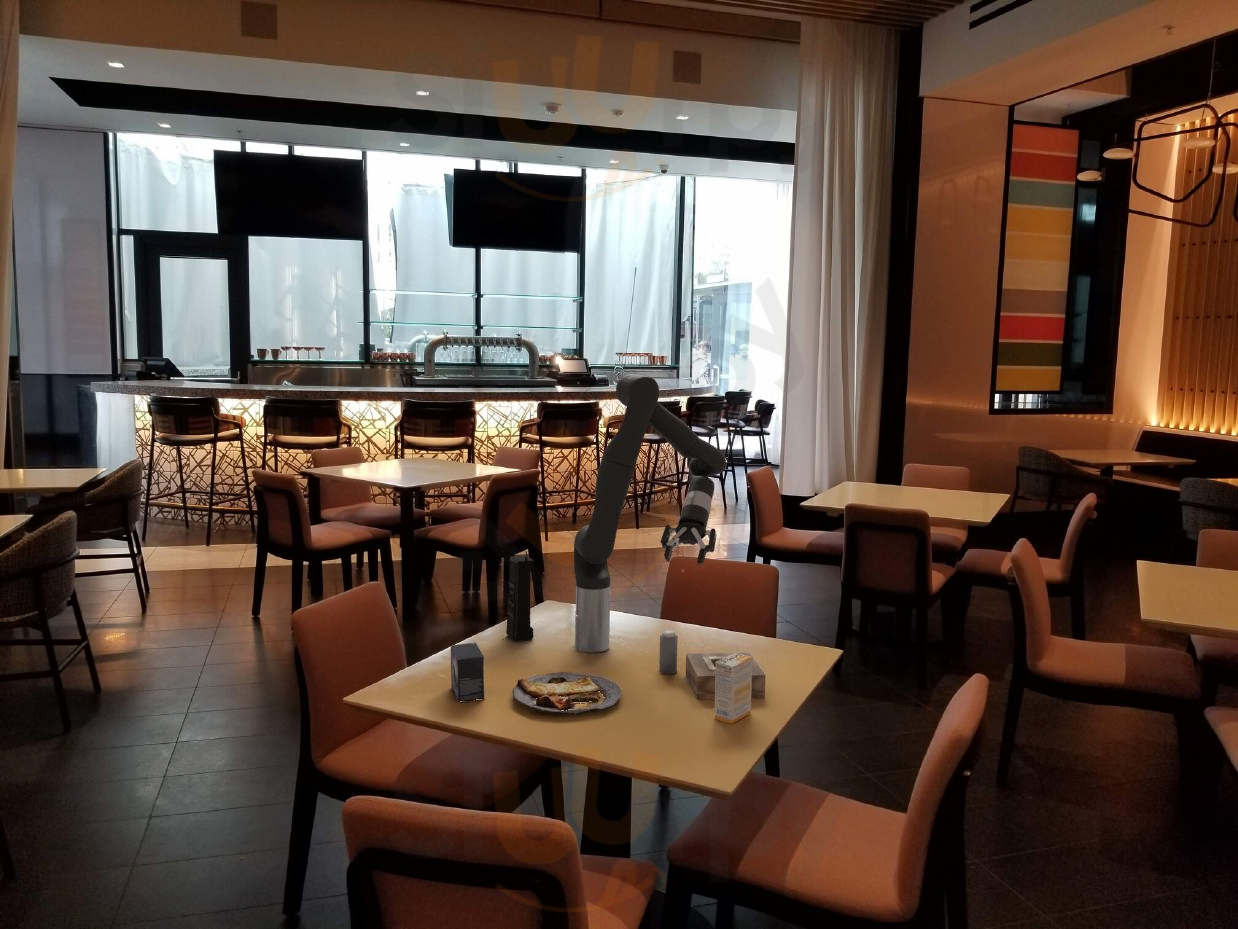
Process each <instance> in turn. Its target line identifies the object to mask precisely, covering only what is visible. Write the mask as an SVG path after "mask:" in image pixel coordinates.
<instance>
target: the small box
mask: <svg viewBox="0 0 1238 929" xmlns="http://www.w3.org/2000/svg"><path fill="white" fill-rule="evenodd" d="M484 660H485V656H484V655H483V653H482V651H481V649H480V647H479V646H478V644H477V642H469V643H461V644H451V645H450V676H451V678H450V679H451V680H450V681H451V689H452V691H453V694H454V696H455V698H456V700H457V703H458V702H460V701H470V702H475V701H474V700H476V699H484V700H485V676H484V675H485V674H484V671H485V670H484V669H485V668H484V665H485V664H484V662H485V661H484Z"/></svg>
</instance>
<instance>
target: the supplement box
mask: <svg viewBox="0 0 1238 929" xmlns="http://www.w3.org/2000/svg"><path fill="white" fill-rule="evenodd" d="M733 653H734V654H732V655H729V656H727V657H725V658H723V659H721V660H719V661H717V662H715V663H716V665H715V699H714V717H713V718H714V719H715V720H718V721H720V722H724V723H727V724H731V725H733V724H735V723H736V722H738V721H739V720H741V719H743V718H745V717H747V716H748V715H750V714H751V713H752V698H751V687H752V657H753V656H752V657H750V656H746V655H742V654H739V653H740V652H733Z"/></svg>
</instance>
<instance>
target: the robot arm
mask: <svg viewBox="0 0 1238 929" xmlns="http://www.w3.org/2000/svg"><path fill="white" fill-rule="evenodd" d="M615 395H616V397H617V399H618V401H619V402H620V403H621V404H622V405H624V406H625V408H626V409H625V413H624V415H623V419H622V422H621V424H620V427H619V429H618V430H617V432H616V433H615V435H613V437H612V438H611V440H610V441H609V443H608V444H607V446H606V447H605V449H604V452H603V454H602V456H601V460H600V464H599V467H598V470H597V473H596V474H597V475H596V478H595V479H596V481H595V492H594V493H595V495H594V496H595V497H594V499H595V500H594V508H593V512H592V514H591V519H590V521H589V524H587V525H584V526H582V527H581V528H579V530H578V531H577V532H576V533H575V536H574V542H573V566H574V567H573V570H574V576H575V612H574V618H575V619H574V622H575V623H574V648H575V651H576V652H583V653H592V654H593V653H601V652H605V651H608V650H609V648H610V631H611V630H610V629H611V628H610V622H611V621H610V618H611V617H610V616H611V612H610V611H611V575H610V572H609V571H610V570H609V567H608V565H609V564H608V559H610V557H611V556H612V554H613V552H614V548H615V543H616V538H617V531H618V527H619V522H620V517H621V514H622V510H623V508H624V505H625V502H626V498H627V497H628V496H627V495H628V492H629V489H630V486H631V483H632V480H633V477H634V472H635V469H636V466H637V462H638V457H639V454H640V452H641V449H642V448H641V447H642V445H643V442H644V438H645V434H646V431H647V428H648V426H651V427H652V428H653V429H654V430H655V431H656V432H658V433H659V435H661V437H663V438H664V440H665V441H666V442H667V443H668V444H669V445H670V446H672V448H673V449H674V450H675V451H676V452H677V453H678V454H679V455H680V456H681V457H683V458H684V459H690V461H689V464H688V480H689V486H688V489H687V493H686V496H685V499H684V501H683V505H682V509H681V513H680V516H679V519H678V524H677V526H676V527H672V526H670V524H666V525H665V528H664V530H663V532H662V536H661V539H660V545H661V547H662V548H663V549H664V554H663V556H664V559H665V561H666V563H670V562H671V559H672V558H671V557H672V554H673V550H674V549H675V548H676V547H679V546H681V545H692V546H695V545H696V544H697V546H698V548H699V551H698V555H697V561H696V563H697V565H698V566H701V565H702V564H704V562H705V559H706V555H707V553H714V551H715V548H716V542H717V537H718V536H717V532H716V529H715V528H714V527H713V528H711V529H707V528H708V527H707V526H708V522H709V518H710V514H711V510H712V500H713V497H714V493H715V482H714V481H713V480H712V479H711V477H714V476H716V475H720V474H722V473H723V472H725V470H726V468H727V459H726V456H725V455H724V453H723V452H722V451H721V450H720V449H719V448H717V447H716V446H714V445H712V444H711V443H709V442H707V441H705V440H704V439H702V438H700V437H699V436H698V435H697V433H695V431H694V430H692V429H691V427H689V425H687V424H686V423H685V422H684V421H683V420H682V419H680V418H679V417H678V416H676V415H675V414H673V413H672V412H671V411H669V410H668V409H667V408H666V407H664V406H663V404H661V403H660V402H658V401H659V397H660V387H659V384H658V382H657V380H656V379H655V378H654V377H652V376H649V375H644V374H640V373H639V374H638V373H630V374H626V375H623V376H622V377H621V378H620V379H618V381H617V384H616V386H615ZM674 533H675V534H674ZM673 534H674V535H673ZM706 536H707V537H708V543H707V544H705V542H704V541H703V539H704V538H705V537H706ZM670 537H671V539H670Z"/></svg>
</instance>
